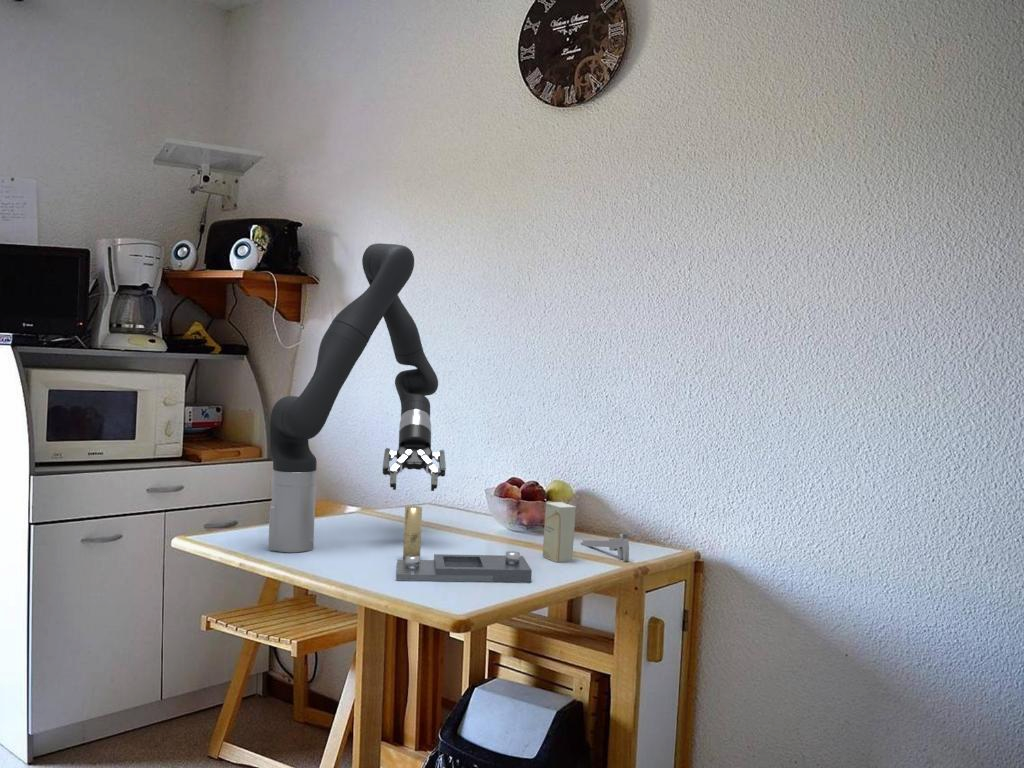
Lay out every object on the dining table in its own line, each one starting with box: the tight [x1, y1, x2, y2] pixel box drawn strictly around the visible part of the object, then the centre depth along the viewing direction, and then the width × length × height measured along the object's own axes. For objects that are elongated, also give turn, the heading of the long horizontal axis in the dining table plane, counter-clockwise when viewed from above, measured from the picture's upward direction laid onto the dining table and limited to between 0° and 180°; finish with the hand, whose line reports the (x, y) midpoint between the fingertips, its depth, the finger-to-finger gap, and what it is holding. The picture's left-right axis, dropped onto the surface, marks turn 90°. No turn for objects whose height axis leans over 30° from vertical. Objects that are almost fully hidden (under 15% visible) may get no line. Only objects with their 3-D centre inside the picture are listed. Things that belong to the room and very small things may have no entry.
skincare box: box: [542, 501, 577, 563], centre depth 195 cm, size 6×4×12 cm
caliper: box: [580, 533, 630, 562], centre depth 205 cm, size 20×1×6 cm, turn 24°
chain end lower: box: [396, 555, 494, 583], centre depth 177 cm, size 18×13×3 cm
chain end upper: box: [433, 550, 533, 583], centre depth 178 cm, size 18×13×4 cm
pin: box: [402, 505, 423, 560], centre depth 189 cm, size 4×4×11 cm
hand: (413, 488), depth 199 cm, fingers open, 8 cm apart
